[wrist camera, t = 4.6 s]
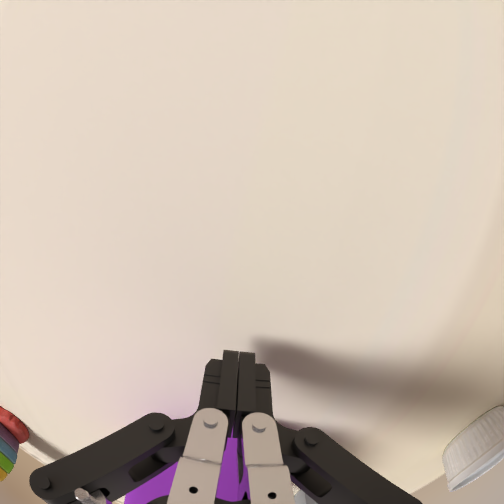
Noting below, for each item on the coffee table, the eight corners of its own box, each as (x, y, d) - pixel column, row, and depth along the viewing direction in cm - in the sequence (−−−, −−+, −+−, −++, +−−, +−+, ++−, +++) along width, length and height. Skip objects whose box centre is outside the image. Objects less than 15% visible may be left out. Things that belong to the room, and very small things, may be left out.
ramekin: (512, 384, 19) (536, 419, 12) (506, 414, 22) (523, 442, 16) (428, 448, 22) (445, 490, 15) (441, 463, 26) (453, 494, 19)
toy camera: (208, 481, 22) (201, 555, 13) (126, 418, 17) (92, 520, 8) (305, 468, 21) (315, 552, 11) (251, 399, 16) (251, 545, 7)
